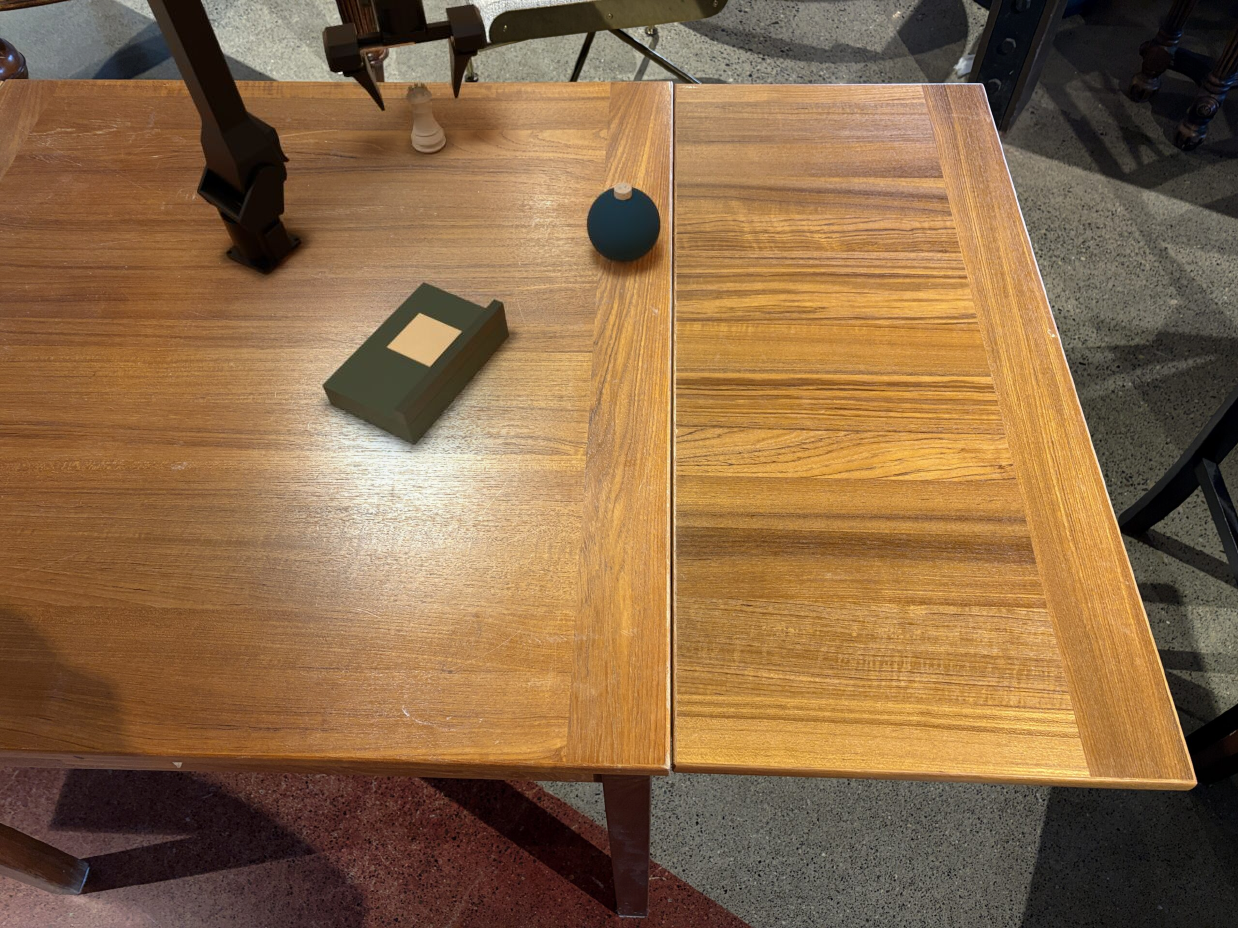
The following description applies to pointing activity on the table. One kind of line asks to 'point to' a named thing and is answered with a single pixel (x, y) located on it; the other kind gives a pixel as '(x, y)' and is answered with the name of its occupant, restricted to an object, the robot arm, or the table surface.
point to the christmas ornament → (623, 223)
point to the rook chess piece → (424, 121)
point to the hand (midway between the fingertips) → (419, 102)
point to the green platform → (418, 361)
